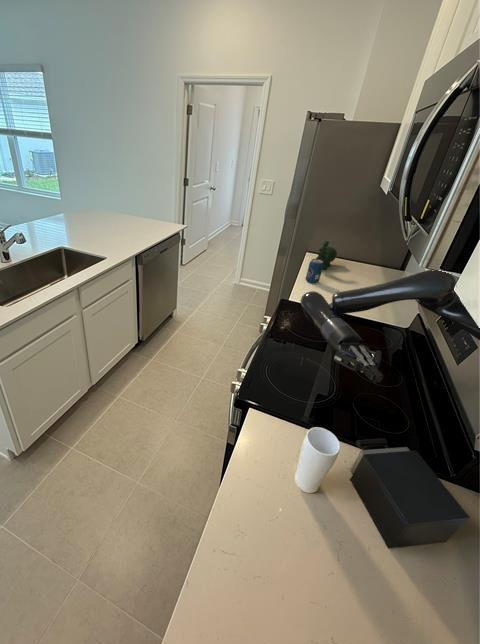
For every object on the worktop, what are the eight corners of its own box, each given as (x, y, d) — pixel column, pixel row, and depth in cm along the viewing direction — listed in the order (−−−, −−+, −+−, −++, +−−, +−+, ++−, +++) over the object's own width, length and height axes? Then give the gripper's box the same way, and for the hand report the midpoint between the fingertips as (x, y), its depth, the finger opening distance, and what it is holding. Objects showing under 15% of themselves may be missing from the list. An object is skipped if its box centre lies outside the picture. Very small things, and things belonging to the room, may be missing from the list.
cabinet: (349, 479, 71) (363, 454, 67) (399, 475, 73) (415, 450, 68) (388, 548, 60) (407, 524, 55) (445, 542, 61) (470, 517, 56)
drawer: (341, 455, 76) (350, 434, 72) (383, 452, 77) (395, 431, 73) (383, 531, 62) (398, 510, 58) (434, 525, 63) (453, 505, 59)
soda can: (302, 279, 168) (307, 258, 162) (313, 278, 169) (319, 258, 163) (309, 284, 162) (315, 263, 156) (321, 284, 164) (327, 263, 158)
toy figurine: (324, 277, 175) (337, 261, 192) (332, 246, 165) (345, 232, 181) (308, 272, 180) (321, 257, 197) (315, 242, 170) (329, 229, 186)
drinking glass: (304, 502, 66) (322, 460, 59) (284, 474, 72) (299, 432, 64) (328, 490, 69) (348, 449, 61) (307, 464, 74) (323, 422, 67)
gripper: (321, 326, 84) (357, 369, 69) (366, 324, 86) (411, 366, 71) (314, 347, 88) (347, 393, 73) (357, 346, 89) (398, 390, 74)
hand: (378, 380), depth 72 cm, fingers closed
